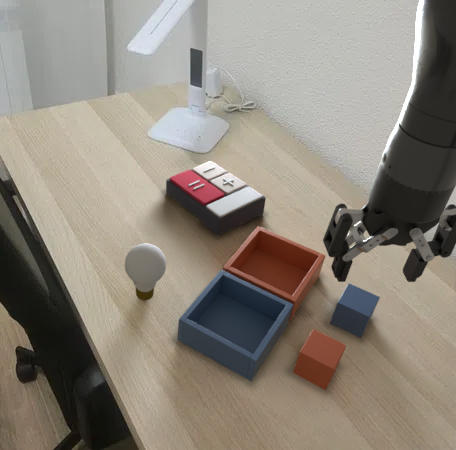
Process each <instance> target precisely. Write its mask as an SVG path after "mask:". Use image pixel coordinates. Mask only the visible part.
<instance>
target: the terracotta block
mask: <svg viewBox="0 0 456 450" xmlns="http://www.w3.org/2000/svg"><path fill="white" fill-rule="evenodd" d="M346 348H347V344H345V343H343V342H341V341H339V340H337V339H335V338H333V337H330V336H329V335H327V334H325V333H323V332H320V331H319V330H316V329H315V328H313V329H312V330H311V332H310V334H309V335H308V337H307V338H306V340H305V342H304V344H303V345H302V347H301V349H300V350H299V353H298V355H297V359H296V361H295V364H294V368H293V371H292V373H293V374H295V375H296V376H298V377H300V378H302V379H304V380H306V381H308V382H310V383H312V384H313V385H315V386H317V387H319V388H321V389H322V390H324V391H327V389H328V386H329V385H330V382H331V380H332V378H333V377H334V374H335V372H336V371H337V369H338V367H339V364H340V362H341V359H342V357H343V356H344V352H345V350H346Z"/></svg>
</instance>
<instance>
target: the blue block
mask: <svg viewBox="0 0 456 450" xmlns="http://www.w3.org/2000/svg"><path fill="white" fill-rule="evenodd" d="M380 299H381V296H379V295H377V294H374V293H372V292H370V291H367V290H365V289H363V288H361V287H359V286H356V285H355V284H352V283H350V282H348V284H347V285H346V287H345V289H344V290H343V292H342V294H341V296H340V297H339V299H338V301H337V303H336V306H335V309H334V311H333V313H332V317H331V319H330V322H329V324H331V325H332V326H334V327H337V328H338V329H340V330H343V331H345V332H347V333H349V334H351V335H353V336H355V337H357V338H360V339H361V338H362V337H363V335H364V333H365V331H366V329H367V327H368V325H369V323H370V321H371V318H372V317H373V315H374V312H375V310H376V308H377V305H378V303H379V300H380Z"/></svg>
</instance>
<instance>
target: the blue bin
mask: <svg viewBox="0 0 456 450" xmlns="http://www.w3.org/2000/svg"><path fill="white" fill-rule="evenodd" d="M292 308H293V304H291V303H289V302H287V301H285V300H283V299H281V298H279V297H277V296H275V295H273V294H271V293H268V292H266V291H264V290H262V289H260V288H258V287H256V286H254V285H252V284H250V283H248V282H246V281H244V280H242V279H239V278H237V277H235V276H233V275H231V274H229V273H227V272H225V271H223V269H220V270H219V271H218V272H217V274H216V275H215V276H214V277H213V278H212V280H210V281H209V283H208V284H207V285H206V287H204V288H203V290H202V291H201V292H200V293H199V295H198V296H197V297H196V298H195V300H193V302H192V303H191V304H190V306H189V307H188V308H187V309H186V310H185V311H184V313H183V314H182V315H181V316H180V317H179V318H178V324H177V325H178V326H177V335H176V340H177V341H179V342H180V343H181V344H183V345H186V347H188V348H191V349H192V350H194V351H196V352H198V353H200V354H201V355H203V356H204V357H206V358H209V359H210V360H211V361H214V362H216V363H217V364H219V365H221V366H223V367H225V368H226V369H228V370H229V371H231V372H234V374H237V375H239V376H240V377H241V378H244V379H245V380H248V381H250V382H252V381H254V378H255V377H256V376H257V373H258V372H259V370H260V369H261V367H262V366H263V364H264V363H265V361H266V359H267V358H268V356H269V355H270V353H271V352H272V350H273V349H274V347H275V345H276V344H277V342H278V341H279V339H280V337H281V336H282V334H283V333H284V331H285V330H286V328H287V327H288V325H289V323H290V322H289V318H290V315H291V312H292Z"/></svg>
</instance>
